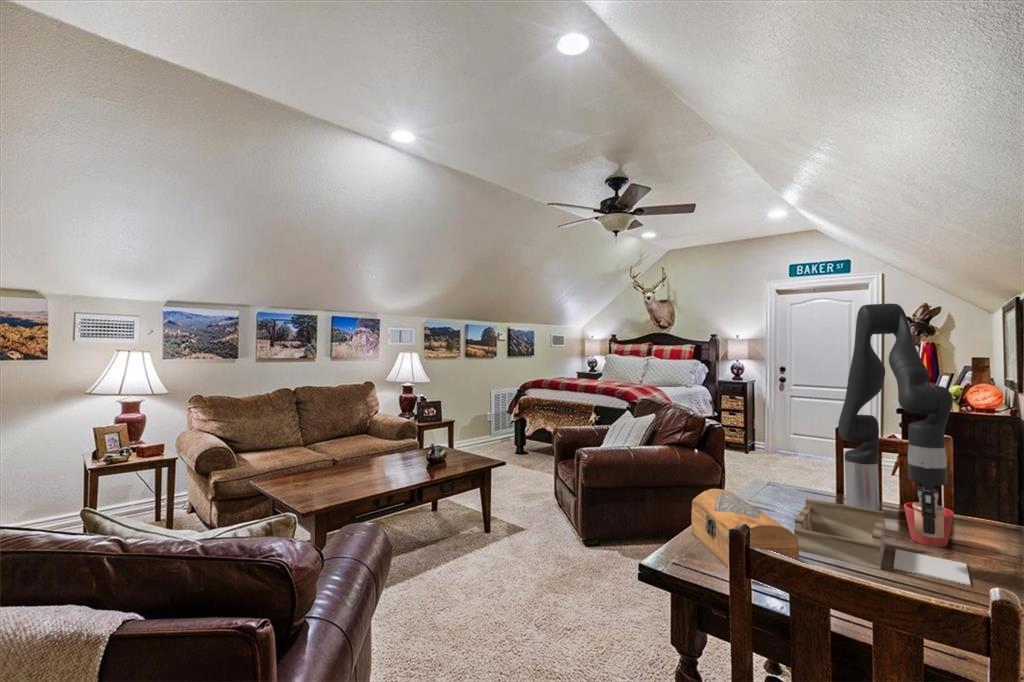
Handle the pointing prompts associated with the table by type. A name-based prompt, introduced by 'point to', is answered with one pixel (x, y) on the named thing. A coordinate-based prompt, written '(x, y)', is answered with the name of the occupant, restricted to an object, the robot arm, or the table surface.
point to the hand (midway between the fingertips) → (929, 529)
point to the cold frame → (841, 532)
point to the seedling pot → (938, 521)
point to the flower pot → (924, 539)
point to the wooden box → (726, 511)
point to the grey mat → (932, 567)
